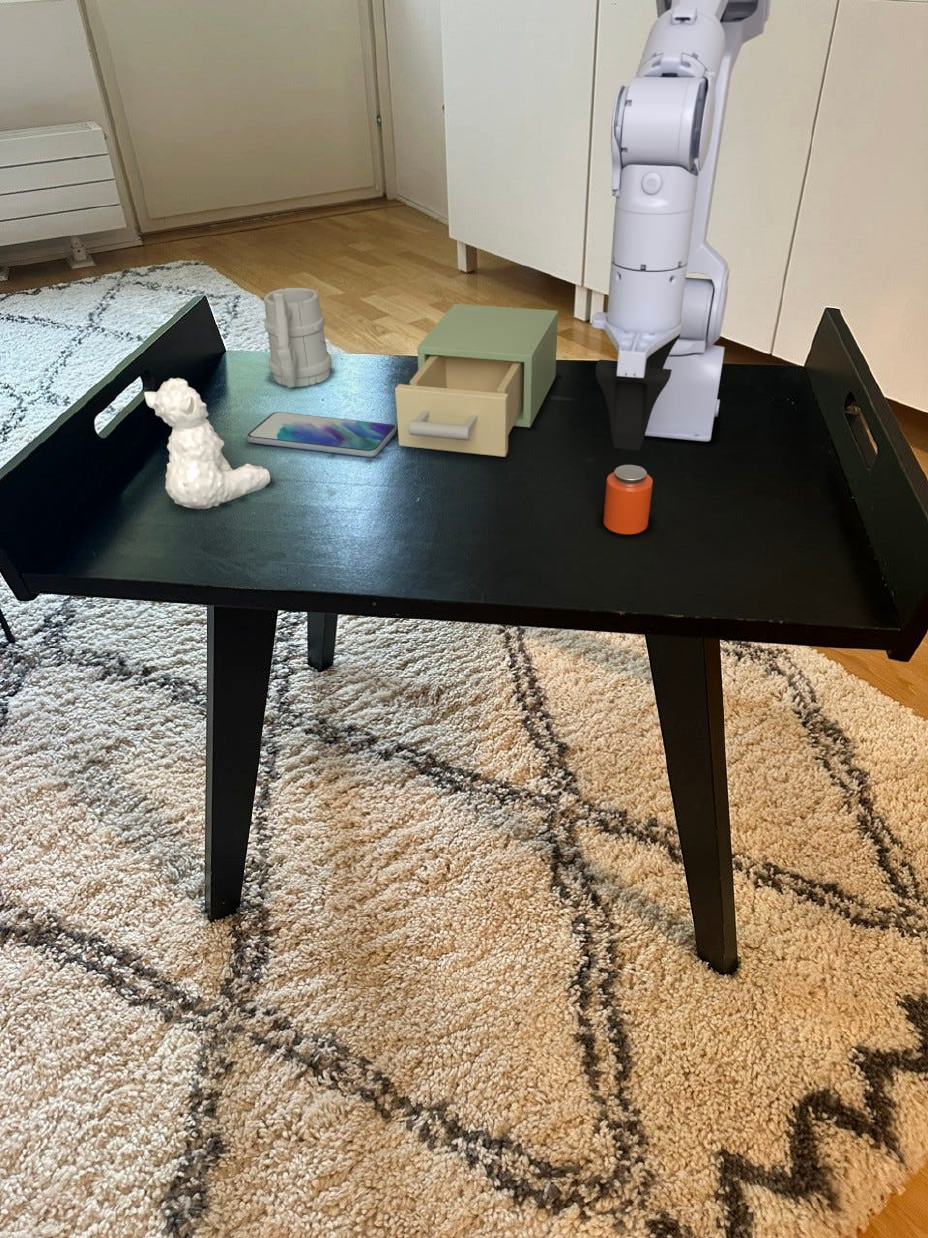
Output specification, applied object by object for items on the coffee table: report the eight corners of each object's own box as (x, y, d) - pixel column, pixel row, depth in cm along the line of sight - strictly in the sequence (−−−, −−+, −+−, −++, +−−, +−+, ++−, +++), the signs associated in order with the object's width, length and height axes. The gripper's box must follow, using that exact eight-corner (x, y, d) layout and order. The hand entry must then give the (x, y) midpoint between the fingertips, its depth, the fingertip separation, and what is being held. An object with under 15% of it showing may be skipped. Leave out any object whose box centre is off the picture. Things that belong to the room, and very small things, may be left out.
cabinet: (530, 427, 98) (531, 355, 93) (420, 416, 101) (416, 346, 96) (555, 376, 109) (558, 310, 104) (456, 368, 112) (454, 303, 107)
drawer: (495, 476, 87) (495, 416, 83) (385, 464, 90) (380, 405, 86) (533, 403, 101) (534, 348, 97) (436, 394, 103) (434, 341, 100)
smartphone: (273, 410, 101) (398, 424, 97) (275, 417, 101) (399, 431, 98) (243, 436, 95) (374, 452, 92) (244, 444, 96) (374, 459, 92)
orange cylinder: (650, 514, 83) (656, 463, 79) (645, 536, 79) (651, 485, 76) (606, 509, 83) (611, 459, 80) (600, 531, 80) (604, 480, 77)
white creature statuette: (275, 483, 89) (256, 367, 82) (222, 525, 83) (196, 403, 76) (199, 466, 92) (173, 353, 85) (142, 505, 86) (109, 386, 79)
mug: (337, 363, 114) (326, 266, 107) (322, 401, 105) (309, 297, 97) (277, 364, 114) (263, 267, 107) (257, 402, 105) (240, 298, 98)
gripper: (609, 233, 74) (598, 389, 82) (580, 286, 63) (571, 461, 71) (696, 237, 72) (676, 396, 81) (682, 292, 61) (660, 470, 70)
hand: (632, 427), depth 76 cm, fingers open, 7 cm apart
